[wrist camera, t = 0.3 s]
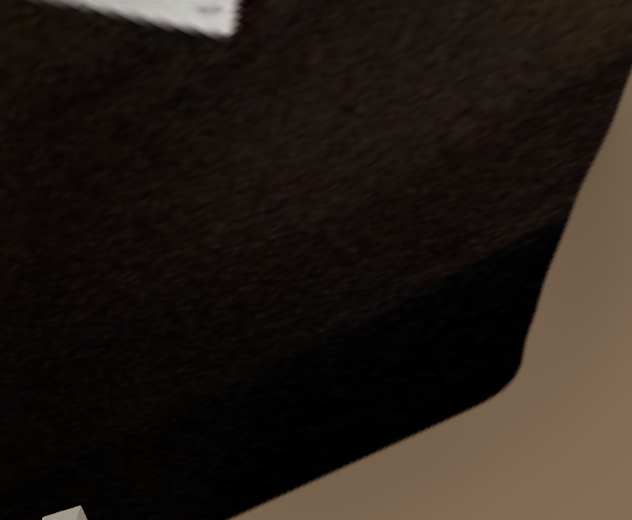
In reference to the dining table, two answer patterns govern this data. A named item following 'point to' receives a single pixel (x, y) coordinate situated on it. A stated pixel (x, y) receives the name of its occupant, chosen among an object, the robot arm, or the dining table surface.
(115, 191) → the dining table surface
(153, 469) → the dining table surface
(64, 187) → the dining table surface
